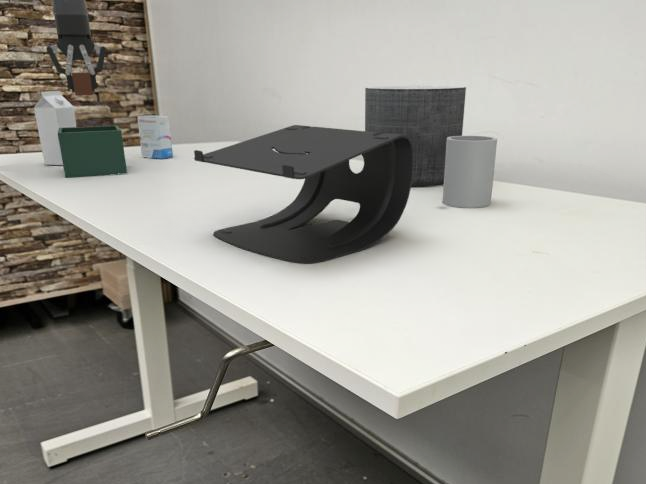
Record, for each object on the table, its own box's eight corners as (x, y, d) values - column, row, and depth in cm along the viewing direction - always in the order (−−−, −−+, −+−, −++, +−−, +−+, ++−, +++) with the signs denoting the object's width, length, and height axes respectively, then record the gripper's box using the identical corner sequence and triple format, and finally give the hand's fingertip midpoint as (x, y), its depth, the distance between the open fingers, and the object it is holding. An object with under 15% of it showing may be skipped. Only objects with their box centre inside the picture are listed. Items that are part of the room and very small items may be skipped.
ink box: (174, 157, 180) (169, 115, 175) (162, 159, 176) (157, 116, 171) (153, 155, 184) (148, 114, 179) (141, 157, 180) (135, 115, 175)
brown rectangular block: (75, 95, 145) (71, 73, 143) (75, 93, 153) (71, 72, 151) (93, 95, 146) (89, 72, 144) (91, 93, 155) (88, 72, 153)
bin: (65, 177, 148) (57, 133, 144) (66, 169, 161) (58, 127, 157) (127, 173, 153) (121, 130, 149) (123, 165, 166) (117, 125, 161)
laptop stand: (415, 236, 95) (420, 133, 88) (301, 270, 80) (299, 148, 74) (306, 211, 112) (304, 123, 106) (196, 234, 97) (187, 134, 91)
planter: (416, 168, 156) (420, 84, 148) (479, 180, 139) (487, 86, 131) (345, 176, 145) (346, 87, 137) (404, 191, 128) (408, 89, 120)
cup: (447, 207, 113) (451, 141, 108) (439, 198, 121) (443, 135, 117) (495, 207, 113) (502, 140, 108) (484, 197, 121) (490, 135, 117)
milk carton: (44, 165, 168) (30, 91, 160) (62, 161, 174) (49, 90, 166) (65, 166, 166) (52, 92, 158) (82, 162, 172) (70, 90, 164)
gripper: (102, 15, 148) (112, 90, 155) (38, 14, 143) (52, 92, 150) (103, 13, 142) (114, 91, 148) (37, 12, 137) (51, 93, 144)
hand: (83, 91), depth 149 cm, fingers closed on brown rectangular block, 4 cm apart
